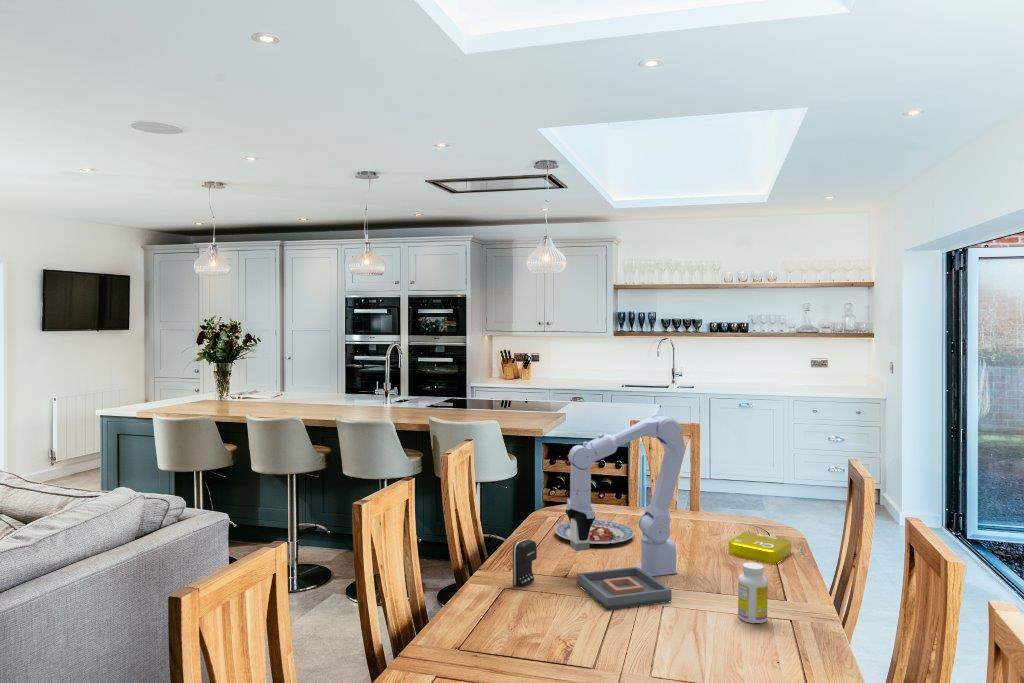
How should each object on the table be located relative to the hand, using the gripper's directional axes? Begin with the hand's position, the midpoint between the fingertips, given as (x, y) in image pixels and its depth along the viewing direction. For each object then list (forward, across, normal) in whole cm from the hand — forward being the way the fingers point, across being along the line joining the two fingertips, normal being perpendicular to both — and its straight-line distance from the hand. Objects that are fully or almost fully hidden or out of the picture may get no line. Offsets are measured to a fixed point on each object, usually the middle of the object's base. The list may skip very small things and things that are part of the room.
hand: (579, 537), depth 200 cm
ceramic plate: (+11, -31, +19) cm, 38 cm away
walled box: (+10, +16, +5) cm, 20 cm away
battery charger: (+11, +2, -17) cm, 20 cm away
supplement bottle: (+11, +40, +27) cm, 49 cm away
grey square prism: (+3, 0, 0) cm, 3 cm away
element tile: (+11, -1, +60) cm, 62 cm away
